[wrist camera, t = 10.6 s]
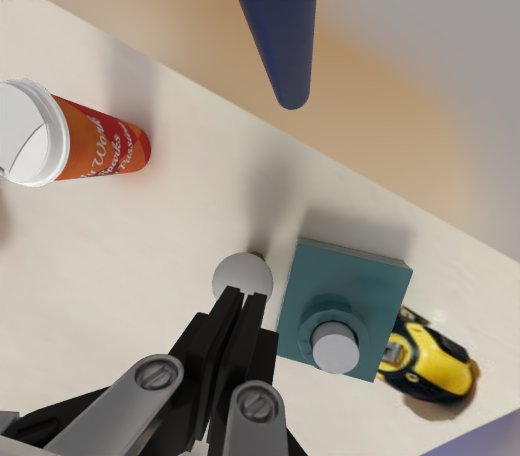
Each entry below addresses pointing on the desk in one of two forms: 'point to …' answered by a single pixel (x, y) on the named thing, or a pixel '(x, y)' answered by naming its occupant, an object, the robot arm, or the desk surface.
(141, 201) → the desk surface
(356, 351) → the grey push button
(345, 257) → the teal button base
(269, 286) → the light bulb
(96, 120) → the paper cup
